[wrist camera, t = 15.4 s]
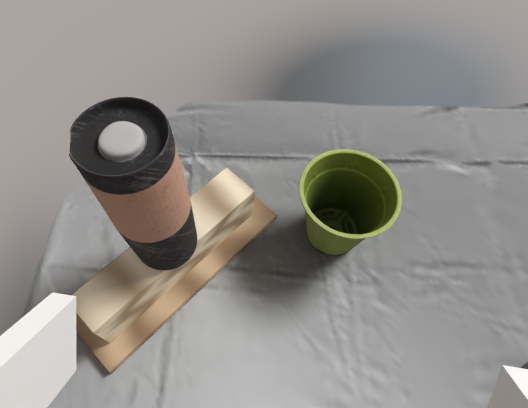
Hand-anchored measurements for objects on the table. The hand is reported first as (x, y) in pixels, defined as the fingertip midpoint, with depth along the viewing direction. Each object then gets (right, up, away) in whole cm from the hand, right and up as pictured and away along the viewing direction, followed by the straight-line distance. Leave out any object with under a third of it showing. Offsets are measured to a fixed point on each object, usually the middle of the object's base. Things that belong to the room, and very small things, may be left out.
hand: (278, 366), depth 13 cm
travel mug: (-12, 0, +35) cm, 37 cm away
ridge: (-12, -3, +41) cm, 43 cm away
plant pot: (+9, +1, +44) cm, 45 cm away
